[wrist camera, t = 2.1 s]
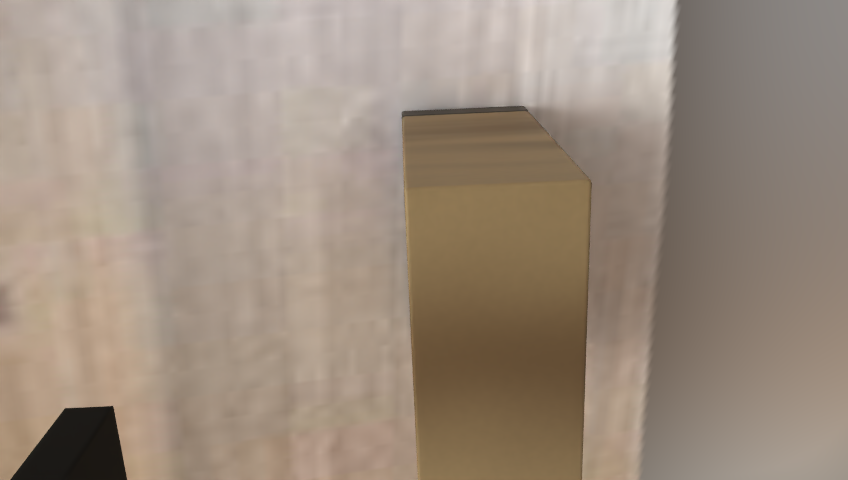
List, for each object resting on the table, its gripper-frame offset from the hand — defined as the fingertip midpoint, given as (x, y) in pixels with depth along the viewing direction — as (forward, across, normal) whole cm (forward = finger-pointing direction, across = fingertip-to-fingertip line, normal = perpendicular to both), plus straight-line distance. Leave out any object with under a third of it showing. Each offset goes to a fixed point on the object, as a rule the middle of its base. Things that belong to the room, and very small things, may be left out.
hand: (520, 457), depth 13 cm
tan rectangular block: (+12, 0, 0) cm, 12 cm away
